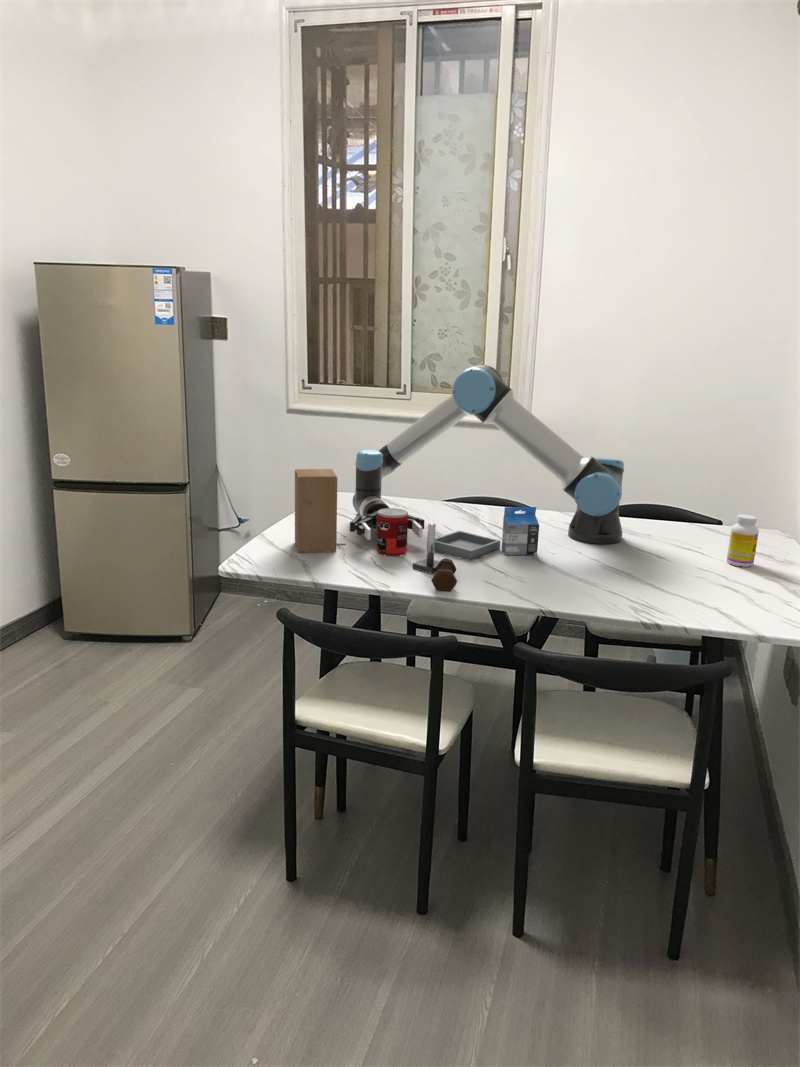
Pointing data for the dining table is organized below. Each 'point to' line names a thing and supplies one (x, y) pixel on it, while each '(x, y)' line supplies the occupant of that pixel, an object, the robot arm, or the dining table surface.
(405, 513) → the canned food
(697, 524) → the dining table surface
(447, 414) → the robot arm
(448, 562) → the brown hex dumbbell
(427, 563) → the stand
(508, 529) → the label tape box
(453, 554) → the tray
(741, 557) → the supplement bottle
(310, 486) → the wooden block
